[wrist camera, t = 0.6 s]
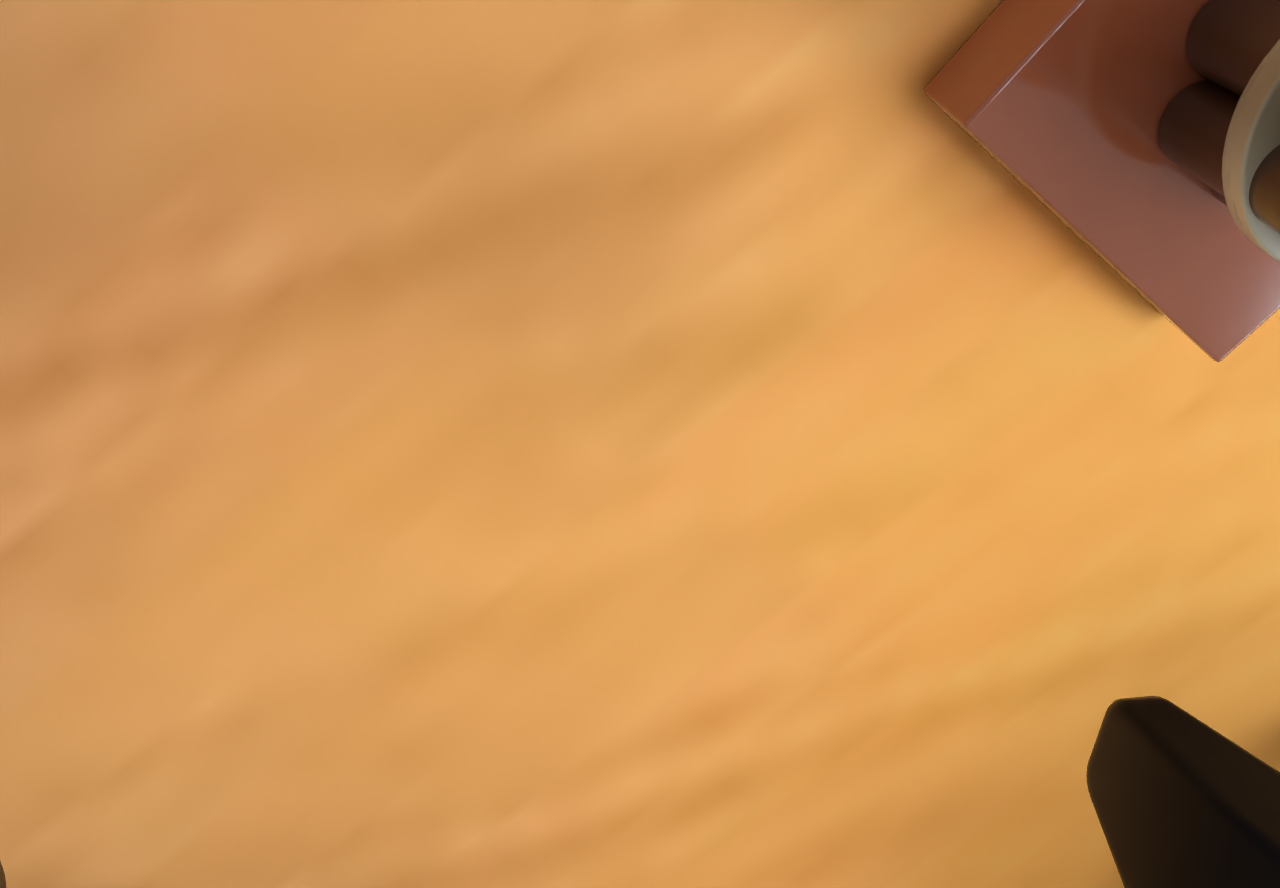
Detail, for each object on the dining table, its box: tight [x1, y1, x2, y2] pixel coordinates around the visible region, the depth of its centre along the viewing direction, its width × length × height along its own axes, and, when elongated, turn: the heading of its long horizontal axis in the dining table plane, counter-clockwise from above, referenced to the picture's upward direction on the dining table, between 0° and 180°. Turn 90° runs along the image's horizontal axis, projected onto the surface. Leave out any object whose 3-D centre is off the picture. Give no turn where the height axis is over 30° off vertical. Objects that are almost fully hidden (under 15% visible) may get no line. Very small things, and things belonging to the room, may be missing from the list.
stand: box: [924, 0, 1280, 362], centre depth 22 cm, size 8×8×2 cm
